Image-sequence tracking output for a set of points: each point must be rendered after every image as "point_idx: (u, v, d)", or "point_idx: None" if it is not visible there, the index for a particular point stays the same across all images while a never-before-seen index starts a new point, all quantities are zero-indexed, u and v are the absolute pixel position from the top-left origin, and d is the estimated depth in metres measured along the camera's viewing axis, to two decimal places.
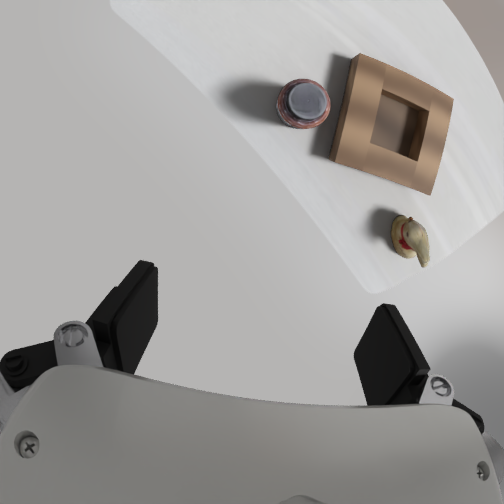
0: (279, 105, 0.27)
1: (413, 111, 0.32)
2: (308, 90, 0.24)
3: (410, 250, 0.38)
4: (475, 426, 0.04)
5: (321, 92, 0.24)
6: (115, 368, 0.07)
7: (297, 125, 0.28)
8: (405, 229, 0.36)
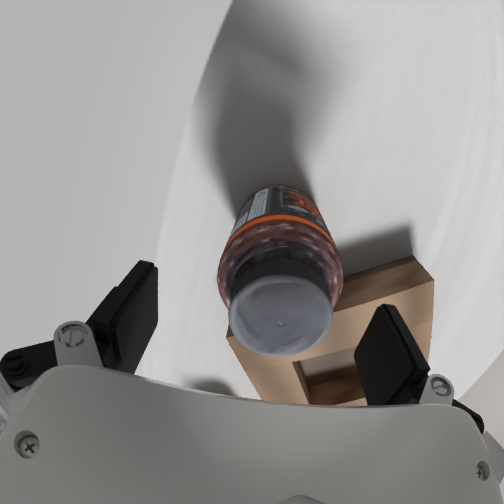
0: (239, 239, 0.12)
1: None
2: (308, 312, 0.10)
3: None
4: (475, 426, 0.04)
5: (320, 336, 0.10)
6: (115, 368, 0.07)
7: (221, 296, 0.13)
8: None
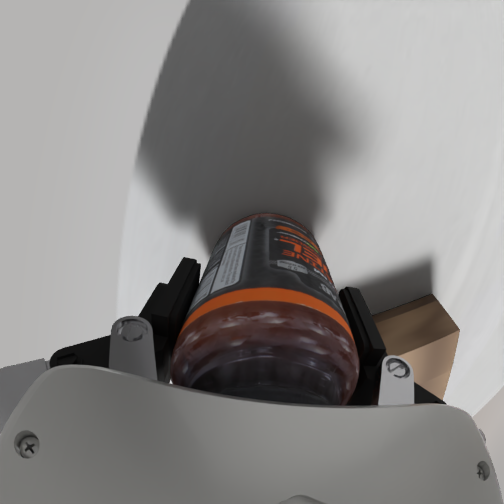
0: (195, 333, 0.07)
1: None
2: None
3: None
4: (475, 426, 0.04)
5: None
6: (167, 361, 0.08)
7: None
8: None
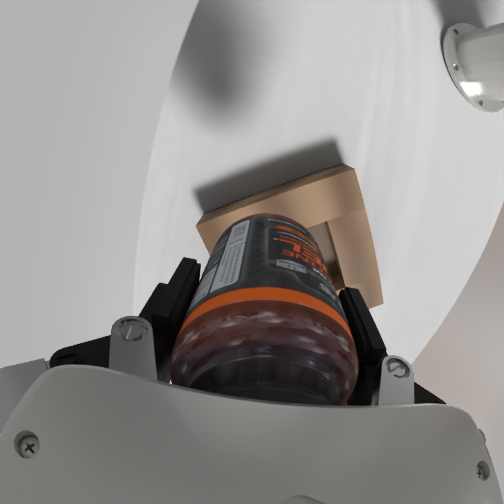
0: (194, 333, 0.07)
1: (333, 267, 0.32)
2: None
3: None
4: (475, 426, 0.04)
5: None
6: (167, 361, 0.08)
7: None
8: None
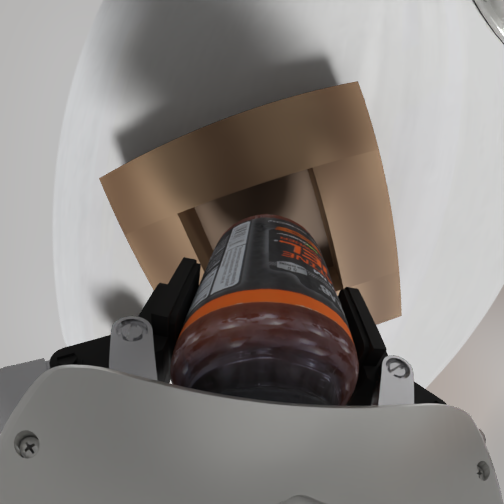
0: (195, 335, 0.07)
1: (324, 256, 0.20)
2: None
3: None
4: (475, 426, 0.04)
5: None
6: (167, 361, 0.08)
7: None
8: None
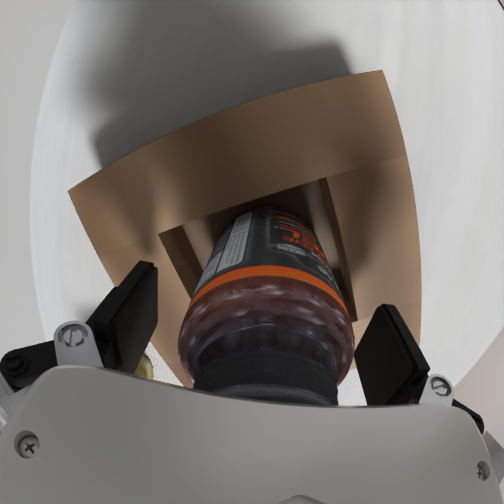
0: (202, 307, 0.08)
1: (335, 279, 0.17)
2: None
3: None
4: (475, 426, 0.04)
5: None
6: (115, 368, 0.07)
7: (186, 374, 0.09)
8: None
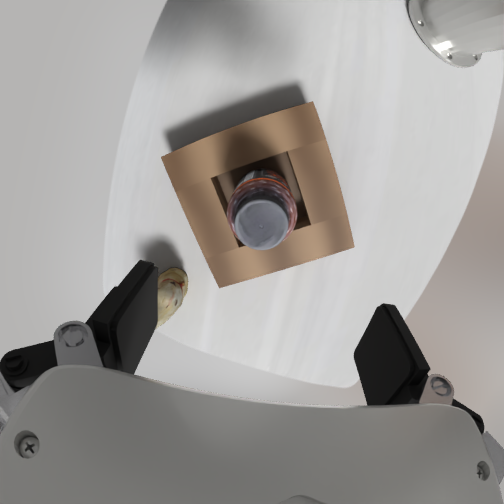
0: (239, 189, 0.22)
1: (300, 209, 0.31)
2: (274, 219, 0.20)
3: None
4: (475, 426, 0.04)
5: (282, 234, 0.21)
6: (115, 368, 0.07)
7: (229, 223, 0.23)
8: (161, 284, 0.31)
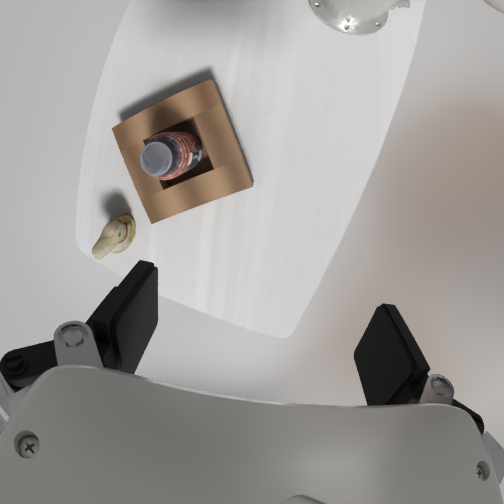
0: (149, 140, 0.30)
1: None
2: (163, 153, 0.28)
3: None
4: (475, 426, 0.04)
5: (168, 163, 0.28)
6: (115, 368, 0.07)
7: None
8: (110, 221, 0.39)
